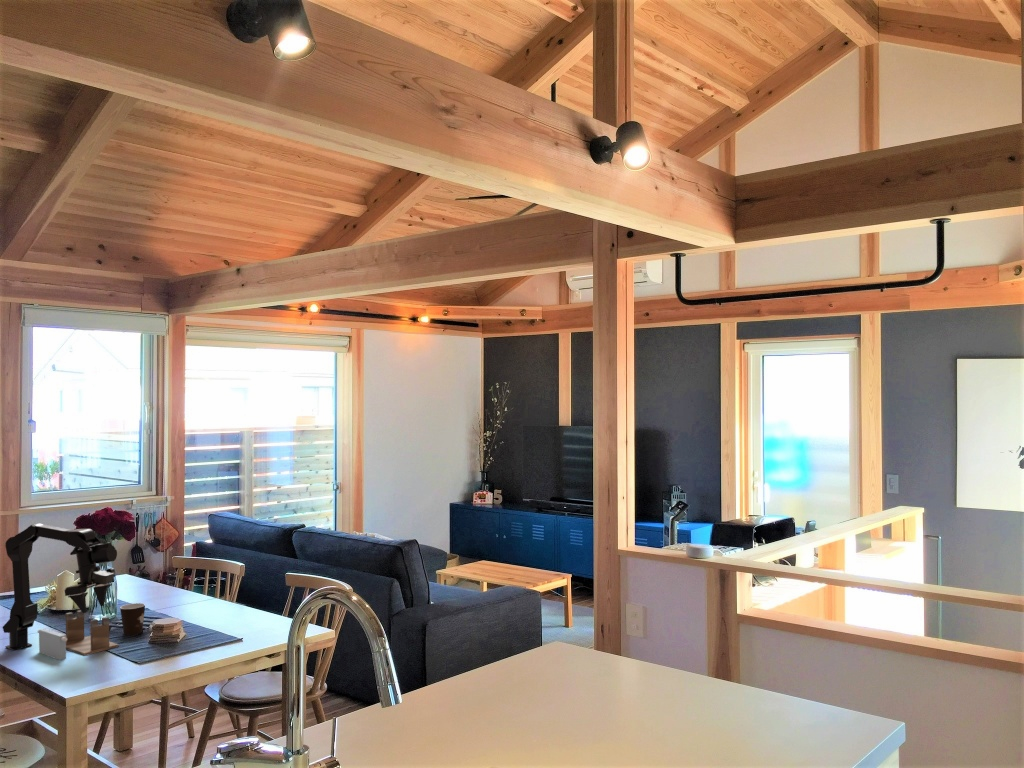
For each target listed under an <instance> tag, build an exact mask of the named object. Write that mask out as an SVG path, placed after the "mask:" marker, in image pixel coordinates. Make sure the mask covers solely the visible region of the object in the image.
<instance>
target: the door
mask: <svg viewBox="0 0 1024 768" xmlns="http://www.w3.org/2000/svg"><path fill="white" fill-rule="evenodd" d="M37 633H38V648H39V649H38V650H39V651H38V652H39V653H40V654H41V655H42V654H43V655H44V656H48V657H50V656H51V658H53V657H54V658H53V659H56V660H60V661H61V660H64V659H67V649H66V641H67V638H66V634H64V633H62V632H61V633H60V632H57V631H56V630H55V631H54V630H50V629H47V628H41V629H38V630H37Z"/></svg>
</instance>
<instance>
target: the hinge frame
mask: <svg viewBox="0 0 1024 768" xmlns="http://www.w3.org/2000/svg"><path fill="white" fill-rule="evenodd" d="M89 621H90V622H89V625H90V626H89V627H90V635H89V636H85V613H82V611H81V610H80V609H79V610H76V617H74V613H73V612H72V611H71V612H66V613H65V635H66V638H67V641H66V651H70V652H72V653H75V654H76V653H77V654H79V655H82V656H88V655H92V654H96V653H99V652H102V651H103V652H104V651H107V650H111V649H115V648H118V647H119V645H120V644H119V643H115V642H112V641H110V617H109V616H104V617H101V624H99V621H98V619H96V618H95V619H91V620H89Z"/></svg>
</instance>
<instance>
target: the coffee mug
mask: <svg viewBox="0 0 1024 768" xmlns="http://www.w3.org/2000/svg"><path fill="white" fill-rule="evenodd" d="M119 610H120V616H121V623H122V630H123V631H122V632H123V635H124V636H134V635H139V634H142V633H143V631H144V630H143V629H144V619H145V611H146V604H145V603H141V602H138V603H137V602H136V603H134V602H133V603H127V604H123V605H121V606H120V607H119Z"/></svg>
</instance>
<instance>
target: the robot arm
mask: <svg viewBox="0 0 1024 768" xmlns="http://www.w3.org/2000/svg"><path fill="white" fill-rule="evenodd" d="M40 537H41V538H45V539H50V540H54V541H56V540H57V541H61V542H65V544H67V545H68V546H72V547H73V549H72V551H71V552H69V555H70V556H74V555H76V562H77V568H78V569H77V570H75V574H78V576H79V581H77V584H73V585H70V586H67V587H65V589H64V596H65V597H68V598H70V599H71V600H72V601H73V603H75V605H76V606H77V608H79V610H81V611H82V613H84V614H85V613H87V603H86V600H87V599H86V597H87V595H88V594H89V592H87V591H88V589H91V588H93V591H94V593H95V596H96V598H97V601H98V604H99V606H100V607H104V606H105V601H106V596H107V591H108V589H109V588H110V587H111V586H112V585H113V583H115V577H116V571H115V568H114V567H108V568H107V569H105V570H101V567H100V564H105V563H112V562H115V561H116V559H117V557H118V552H117V551H118V550H117V549H116V547H115V546H114V545H113V544H112V543H113V542H111V541H110V542H109V541H108V542H105V543H103V542H102V541H101V539H99V538H98V536H96V534H95V532H94V530H93V529H91V528H78V529H77V528H75V529H69V528H63V527H58V526H54V525H49V524H43V523H41V522H39V523H34V524H31V525H29V526H28V527H27V528H25V529H24V530H22V531H20V532H18V533H17V534H15V535H14V536H12V537H9V538H8V539H7V540H6V541H5V543H4V544H5V545H4V546H5V550H6V555H7V557H8V558H9V560H10V561H11V562H12V563H11V564H12V565H11V566H12V567H11V568H12V582H13V598H14V602H13V604H12V607H11V608H10V611H9V619H8V621H6V623H5V624H3V626H2V631H3V633H4V634H5V633H6V634H7V633H8V638H9V639H8V641H9V644H8V645H5V647H6V649H9V650H11V651H16V650H20V649H25V648H27V647H33V644H32V643H29V634H28V633H29V631H28V630H29V628H32V627H33V626H34V623H35V621H36V620H37V618H38V615H39V611H38V603H37V602H35V603H34V602H33V601H32V600H31V589H30V588H31V587H30V572H29V569H30V568H29V558H30V556H31V554H32V551H33V546H34V545H33V544H34V543H35V542H36V541H37V540H39V538H40ZM98 564H99V565H98Z"/></svg>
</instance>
